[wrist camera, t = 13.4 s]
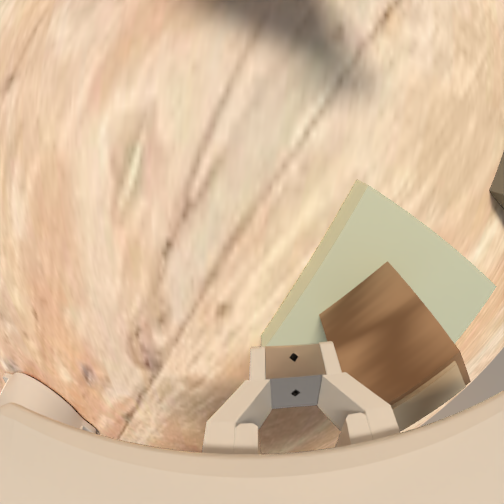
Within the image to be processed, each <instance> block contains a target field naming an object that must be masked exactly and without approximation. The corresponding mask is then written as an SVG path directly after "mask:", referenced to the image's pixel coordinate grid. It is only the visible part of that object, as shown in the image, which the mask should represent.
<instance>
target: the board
mask: <svg viewBox="0 0 504 504" xmlns="http://www.w3.org/2000/svg"><path fill="white" fill-rule="evenodd" d="M387 261H388V262H389V263H390V264H391V266H392V267H393V268H394V269H395V270H396V271H397V272H398V273H399V275H400V276H401V277H402V278H403V279H404V280H405V282H406V283H407V284H408V285H409V286H410V287H411V289H412V290H413V291H414V292H415V293H416V295H417V296H418V297H419V298H420V300H421V301H422V302H423V303H424V304H425V306H426V307H427V308H428V309H429V311H430V312H431V313H432V315H433V316H434V317H435V318H436V320H437V321H438V322H439V324H440V325H441V326H442V328H443V329H444V330H445V332H446V333H447V334H448V336H449V337H450V338H451V340H452V341H453V342H454V344H455V343H456V341H457V340H458V339H459V338H460V336H461V335H462V334H463V333H464V331H465V330H466V329H467V328H468V326H469V325H470V324H471V322H472V321H473V320H474V318H475V317H476V316H477V314H478V313H479V312H480V310H481V309H482V307H483V306H484V305H485V303H486V302H487V300H488V299H489V297H490V296H491V294H492V293H493V291H494V290H495V288H496V286H495V285H494V284H493V283H492V282H491V281H490V280H489V279H488V278H487V277H486V276H485V275H484V274H483V273H482V272H480V271H479V270H478V269H477V268H476V267H475V266H474V265H473V264H472V263H471V262H469V261H468V260H467V259H466V258H465V257H464V256H463V255H461V254H460V253H459V252H458V251H457V250H456V249H454V248H453V247H452V246H451V245H450V244H448V243H447V242H446V241H445V240H443V239H442V238H441V237H440V236H438V235H437V234H436V233H435V232H433V231H432V230H431V229H430V228H428V227H427V226H426V225H424V224H423V223H422V222H420V221H419V220H418V219H416V218H415V217H414V216H412V215H411V214H410V213H408V212H407V211H405V210H404V209H403V208H401V207H400V206H398V205H397V204H396V203H394V202H393V201H391V200H390V199H388V198H387V197H385V196H384V195H382V194H381V193H379V192H378V191H376V190H375V189H373V188H372V187H370V186H369V185H367V184H365V183H363V182H361V181H359V180H356V182H355V184H354V186H353V187H352V189H351V191H350V193H349V195H348V196H347V198H346V200H345V202H344V203H343V205H342V207H341V209H340V210H339V212H338V214H337V216H336V217H335V219H334V221H333V222H332V224H331V226H330V228H329V229H328V231H327V233H326V234H325V236H324V238H323V239H322V241H321V243H320V244H319V246H318V248H317V249H316V251H315V253H314V254H313V256H312V258H311V259H310V261H309V262H308V264H307V266H306V267H305V269H304V270H303V272H302V274H301V275H300V277H299V278H298V280H297V282H296V283H295V285H294V286H293V288H292V289H291V291H290V293H289V294H288V296H287V297H286V299H285V300H284V302H283V303H282V305H281V306H280V308H279V309H278V311H277V313H276V314H275V316H274V317H273V319H272V320H271V322H270V323H269V325H268V326H267V328H266V329H265V330H264V332H263V333H262V335H261V346H262V347H265V346H287V345H299V344H310V343H319V342H327V339H326V335H325V332H324V329H323V326H322V323H321V319H320V316H319V314H320V313H322V312H323V311H325V310H326V309H327V308H329V307H330V306H331V305H333V304H334V303H335V302H337V301H338V300H339V299H341V298H342V297H343V296H345V295H346V294H347V293H348V292H350V291H351V290H352V289H354V288H355V287H356V286H357V285H359V284H360V283H361V282H363V281H364V280H365V279H366V278H367V277H369V276H370V275H371V274H372V273H374V272H375V271H376V270H377V269H379V268H380V267H381V266H382V265H383V264H385V263H386V262H387Z"/></svg>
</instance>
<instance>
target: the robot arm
mask: <svg viewBox="0 0 504 504" xmlns="http://www.w3.org/2000/svg"><path fill="white" fill-rule="evenodd" d="M3 379H4V381H5V383H6V384H5V386H4V388H3V389H2V391H1V393H0V504H504V391H502V392H500V393H498V394H496V395H494V396H493V397H491V398H489V399H487V400H485V401H483V402H481V403H478V404H476V405H474V406H472V407H470V408H468V409H466V410H463V411H461V412H459V413H456V414H454V415H452V416H449V417H446V418H444V419H441V420H439V421H436V422H433V423H430V424H427V425H424V426H422V427H419V428H415V429H412V430H409V431H406V432H402V433H400V430H399V427H398V424H397V422H396V419H395V416H394V413H393V410H392V407H391V405H390V404H388V403H387V402H386V401H384V400H383V399H381V398H380V397H379V396H377V395H376V394H375V393H373V392H372V391H370V390H369V389H368V388H366V387H365V386H364V385H362V384H361V383H360V382H358V381H357V380H356V379H354V378H353V377H352V376H350V375H349V374H348V373H346V372H343V373H342V371H341V367H340V364H339V360H338V357H337V354H336V350H335V347H334V344H333V342H332V341H327V342H319V343H310V344H299V345H287V346H265V347H251V350H250V374H249V380H245V381H244V382H243V383H242V384H241V385H240V387H239V388H238V389H237V390H236V391H235V392H234V393H233V394H232V395H231V396H230V397H229V399H228V400H227V401H226V402H225V403H224V404H223V405H222V406H221V407H220V408H219V409H218V410H217V411H216V412H215V413H214V414H213V415H212V417H211V418H210V419H209V420H208V421H207V423H206V429H205V435H204V442H203V448H202V453H201V452H190V451H181V450H173V449H166V448H159V447H153V446H147V445H142V444H137V443H132V442H127V441H123V440H118V439H114V438H110V437H106V436H103V435H99V434H95V433H96V431H97V430H96V429H95V428H94V427H93V426H92V425H90V424H89V423H88V422H86V421H85V420H84V419H83V418H82V417H81V416H80V415H79V414H78V413H77V412H76V411H75V410H74V409H73V408H72V407H71V406H70V405H69V404H68V403H67V402H66V401H64V400H63V399H62V398H61V397H60V396H58V395H57V394H56V393H55V392H53V391H52V390H51V389H49V388H48V387H46V386H45V385H44V384H42V383H40V382H39V381H37V380H36V379H34V378H32V377H30V376H28V375H26V374H23V373H14V374H9V373H5V374H4V376H3ZM314 405H317V406H318V407H319V409H320V410H321V411H322V412H323V413H324V414H325V415H326V416H327V417H328V418H329V419H330V420H331V422H332V423H333V424H334V425H335V426H336V427H337V428H338V429H339V430H340V431H341V433H340V435H339V438H338V440H337V443H336V445H335V448H328V449H321V450H313V451H303V452H292V453H277V454H261V448H260V440H259V432H258V430H259V428H260V427H261V425H262V424H263V422H264V421H265V420H266V418H267V417H268V415H269V413H270V412H271V410H272V409H277V408H288V407H301V406H314Z"/></svg>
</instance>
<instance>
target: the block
mask: <svg viewBox="0 0 504 504" xmlns="http://www.w3.org/2000/svg"><path fill="white" fill-rule="evenodd" d="M319 316H320V319H321V323H322V326H323V329H324V332H325V335H326V339H327V341H332V342H333V344H334V347H335V350H336V354H337V357H338V360H339V364H340V367H341V371H342V373H343V372H346V373H348V374H349V375H350V376H352V377H353V378H354V379H356V380H357V381H358V382H360V383H361V384H362V385H364V386H365V387H366V388H368V389H369V390H370V391H372V392H373V393H375V394H376V395H377V396H379V397H380V398H381V399H383V400H384V401H386V402H387V403H388V404H390V405H391V407H392V410H393V413H394V416H395V419H396V422H397V424H398V427H399V430H400V431H402V430H404V429H405V428H407V427H409V426H410V425H412V424H414V423H415V422H417V421H418V420H420V419H422V418H423V417H425V416H426V415H428V414H429V413H431V412H432V411H434V410H435V409H437V408H438V407H440V406H441V405H443V404H444V403H445V402H447V401H448V400H449V399H451V398H452V397H454V396H455V395H456V394H457V393H459V392H460V391H461V390H463V389H464V388H465V387H466V385H467V384H468V383H469V382H470V379H469V376H468V373H467V370H466V367H465V364H464V361H463V358H462V356H461V353H460V351H459V349H458V348H457V347H456V345H455V344H454V342H453V341H452V340H451V338H450V337H449V336H448V334H447V333H446V332H445V330H444V329H443V328H442V326H441V325H440V324H439V322H438V321H437V320H436V318H435V317H434V316H433V315H432V313H431V312H430V311H429V309H428V308H427V307H426V306H425V304H424V303H423V302H422V301H421V300H420V298H419V297H418V296H417V295H416V293H415V292H414V291H413V290H412V289H411V287H410V286H409V285H408V284H407V283H406V282H405V280H404V279H403V278H402V277H401V276H400V275H399V273H398V272H397V271H396V270H395V269H394V268H393V267H392V266H391V264H390V263H389V262H388V261H387V262H386V263H385V264H383V265H382V266H381V267H380V268H379V269H377V270H376V271H375V272H374V273H372V274H371V275H370V276H369V277H367V278H366V279H365V280H364V281H363V282H361V283H360V284H359V285H357V286H356V287H355V288H354V289H352V290H351V291H350V292H348V293H347V294H346V295H345V296H343V297H342V298H341V299H339V300H338V301H337V302H335V303H334V304H333V305H331V306H330V307H329V308H327V309H326V310H325V311H323V312H322V313H320V314H319Z"/></svg>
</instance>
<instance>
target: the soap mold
mask: <svg viewBox="0 0 504 504" xmlns="http://www.w3.org/2000/svg"><path fill="white" fill-rule="evenodd" d="M489 191H490V192H491V194H492V195H493V197H494V198H495V199H496V200H497V201H498V203H499V204H500V205H501V206H502V207H503V209H504V152H503V155H502V158H501V161H500V164H499V167H498V170H497V172H496V175H495V177H494V180H493V183H492V185H491V188H490V190H489Z"/></svg>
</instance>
